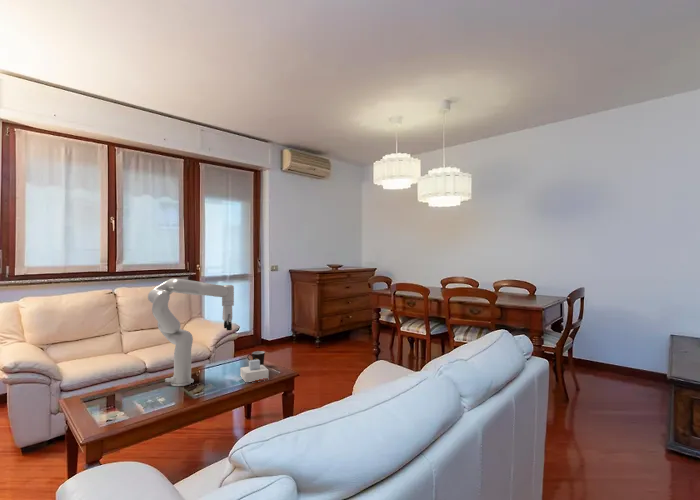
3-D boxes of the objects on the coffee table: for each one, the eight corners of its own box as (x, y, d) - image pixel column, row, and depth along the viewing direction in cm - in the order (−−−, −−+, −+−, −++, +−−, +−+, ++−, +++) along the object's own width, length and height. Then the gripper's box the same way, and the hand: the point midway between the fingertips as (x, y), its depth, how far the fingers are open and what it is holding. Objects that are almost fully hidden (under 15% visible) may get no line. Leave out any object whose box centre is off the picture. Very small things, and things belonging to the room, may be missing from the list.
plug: (250, 378, 223) (250, 362, 223) (248, 376, 226) (248, 360, 227) (259, 376, 226) (259, 360, 226) (258, 375, 229) (258, 359, 230)
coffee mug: (267, 366, 252) (267, 352, 253) (258, 369, 245) (258, 354, 245) (255, 364, 258) (255, 350, 259) (246, 367, 251) (246, 352, 252)
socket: (245, 383, 217) (245, 373, 217) (240, 377, 229) (240, 367, 229) (268, 379, 223) (268, 369, 223) (262, 373, 236) (262, 364, 236)
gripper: (219, 302, 248) (219, 327, 247) (224, 305, 233) (224, 331, 232) (231, 302, 252) (231, 326, 251) (236, 304, 236) (236, 330, 236)
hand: (227, 329), depth 242 cm, fingers open, 9 cm apart
